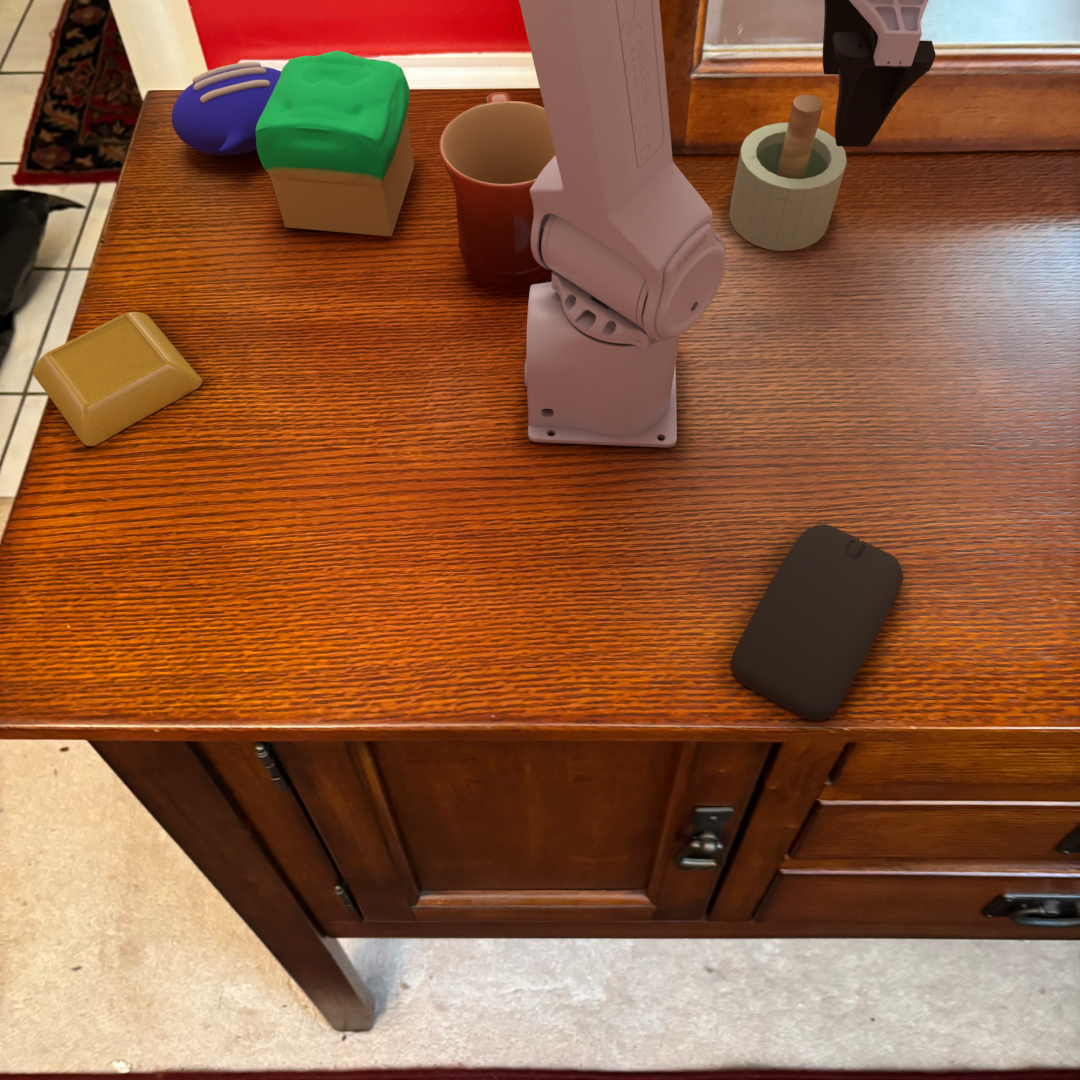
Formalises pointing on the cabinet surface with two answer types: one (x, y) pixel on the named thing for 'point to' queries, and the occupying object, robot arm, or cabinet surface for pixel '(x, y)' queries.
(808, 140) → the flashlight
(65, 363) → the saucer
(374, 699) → the cabinet surface
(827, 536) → the computer mouse
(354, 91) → the cake
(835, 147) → the jar
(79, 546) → the cabinet surface
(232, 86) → the decorative object
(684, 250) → the robot arm
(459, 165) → the mug
